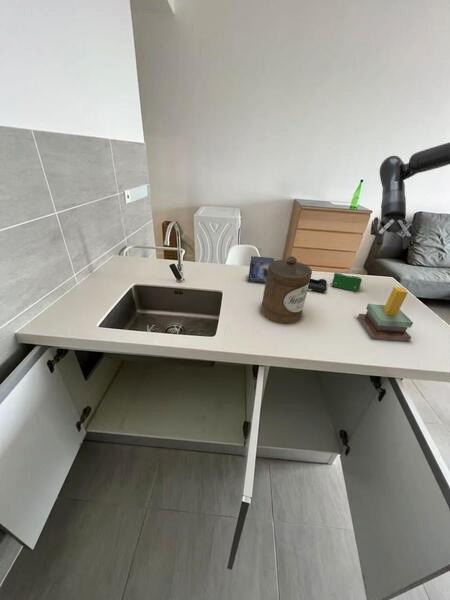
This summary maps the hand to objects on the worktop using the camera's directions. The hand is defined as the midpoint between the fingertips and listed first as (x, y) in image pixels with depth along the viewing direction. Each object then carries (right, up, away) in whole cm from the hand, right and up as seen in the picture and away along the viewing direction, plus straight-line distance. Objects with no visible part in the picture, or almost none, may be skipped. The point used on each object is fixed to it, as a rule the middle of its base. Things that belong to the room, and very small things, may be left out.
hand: (392, 246), depth 86 cm
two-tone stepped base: (-5, -29, -1) cm, 30 cm away
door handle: (-23, -11, +27) cm, 37 cm away
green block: (-5, -13, +26) cm, 29 cm away
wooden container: (-39, -24, +5) cm, 46 cm away
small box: (-44, -10, +27) cm, 53 cm away
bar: (-4, -23, -5) cm, 24 cm away
